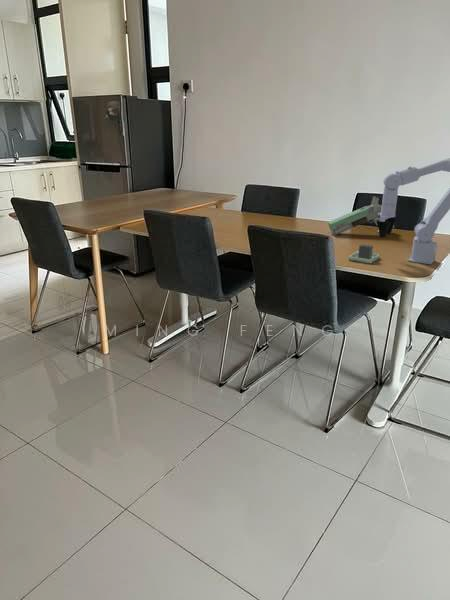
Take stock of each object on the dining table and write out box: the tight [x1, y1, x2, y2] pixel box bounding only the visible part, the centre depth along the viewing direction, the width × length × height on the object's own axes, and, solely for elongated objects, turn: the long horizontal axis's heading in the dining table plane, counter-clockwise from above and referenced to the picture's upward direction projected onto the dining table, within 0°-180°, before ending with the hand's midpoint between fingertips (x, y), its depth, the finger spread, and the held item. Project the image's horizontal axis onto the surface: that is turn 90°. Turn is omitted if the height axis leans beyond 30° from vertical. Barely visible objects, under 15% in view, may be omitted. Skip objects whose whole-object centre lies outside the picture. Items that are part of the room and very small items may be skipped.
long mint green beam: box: [327, 196, 395, 236], centre depth 240 cm, size 7×32×20 cm, turn 93°
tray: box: [348, 252, 381, 265], centre depth 197 cm, size 10×11×2 cm
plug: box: [354, 243, 374, 259], centre depth 196 cm, size 7×3×6 cm, turn 55°
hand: (385, 235), depth 194 cm, fingers open, 7 cm apart
